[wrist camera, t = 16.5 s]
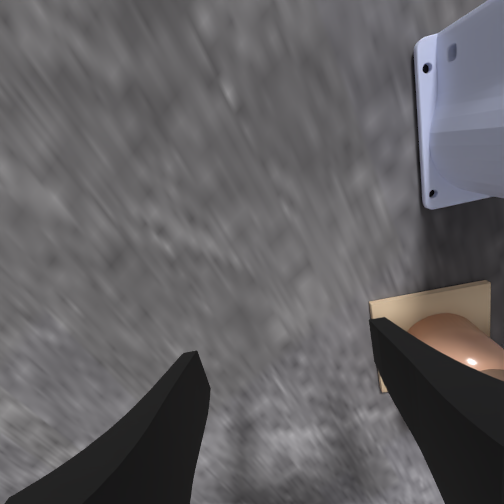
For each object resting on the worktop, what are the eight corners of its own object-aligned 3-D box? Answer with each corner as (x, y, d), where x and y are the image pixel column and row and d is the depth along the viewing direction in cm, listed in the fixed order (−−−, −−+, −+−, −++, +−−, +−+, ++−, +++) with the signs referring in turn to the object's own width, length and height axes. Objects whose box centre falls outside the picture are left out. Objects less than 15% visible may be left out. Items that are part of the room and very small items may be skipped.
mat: (368, 301, 22) (371, 305, 21) (485, 279, 21) (490, 282, 20) (380, 387, 24) (382, 392, 24) (484, 371, 23) (489, 376, 23)
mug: (397, 320, 22) (435, 369, 17) (479, 306, 21) (542, 353, 16) (405, 412, 24) (439, 477, 20) (478, 402, 24) (531, 466, 19)
